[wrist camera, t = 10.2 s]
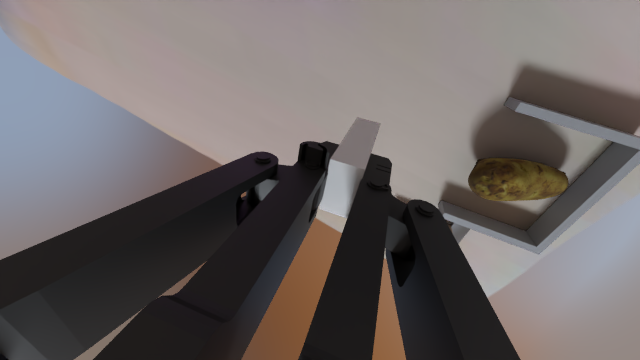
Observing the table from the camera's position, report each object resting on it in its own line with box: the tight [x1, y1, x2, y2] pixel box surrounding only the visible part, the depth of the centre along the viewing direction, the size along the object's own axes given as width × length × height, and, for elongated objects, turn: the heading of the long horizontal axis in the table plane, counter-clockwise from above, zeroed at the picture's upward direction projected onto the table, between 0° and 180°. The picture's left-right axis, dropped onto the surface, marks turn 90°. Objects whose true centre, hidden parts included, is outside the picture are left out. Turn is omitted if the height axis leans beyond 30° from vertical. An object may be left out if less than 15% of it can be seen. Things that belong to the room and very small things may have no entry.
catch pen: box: [438, 97, 640, 254], centre depth 37 cm, size 20×16×4 cm
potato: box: [468, 158, 569, 201], centre depth 36 cm, size 8×13×8 cm, turn 66°
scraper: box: [448, 222, 470, 243], centre depth 47 cm, size 14×5×2 cm, turn 75°
